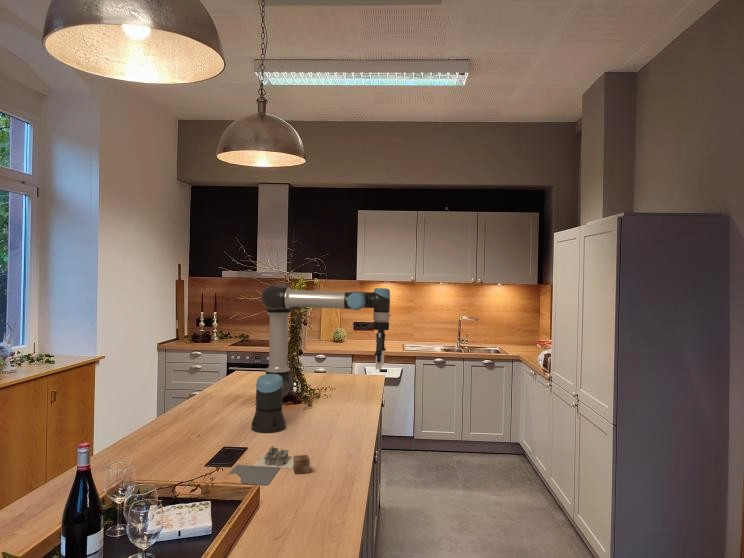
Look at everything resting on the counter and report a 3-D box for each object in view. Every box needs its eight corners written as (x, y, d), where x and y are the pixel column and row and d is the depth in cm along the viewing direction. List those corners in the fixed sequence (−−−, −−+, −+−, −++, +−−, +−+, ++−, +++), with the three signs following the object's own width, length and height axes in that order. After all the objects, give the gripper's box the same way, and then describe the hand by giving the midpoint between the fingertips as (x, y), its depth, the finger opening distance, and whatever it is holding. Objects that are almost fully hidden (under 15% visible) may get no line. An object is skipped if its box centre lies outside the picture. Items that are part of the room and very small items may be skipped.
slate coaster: (220, 482, 175) (220, 481, 175) (237, 465, 191) (237, 464, 191) (267, 485, 173) (267, 484, 173) (280, 467, 189) (280, 467, 189)
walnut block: (295, 474, 184) (295, 460, 184) (293, 469, 188) (293, 455, 188) (309, 473, 185) (309, 459, 185) (307, 468, 190) (307, 454, 190)
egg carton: (271, 455, 201) (272, 445, 201) (290, 457, 200) (291, 446, 200) (261, 465, 191) (262, 453, 191) (281, 466, 190) (282, 455, 190)
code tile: (253, 466, 190) (253, 465, 190) (263, 455, 202) (263, 454, 202) (291, 468, 189) (291, 468, 189) (299, 457, 201) (299, 456, 201)
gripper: (387, 323, 233) (385, 371, 233) (390, 319, 258) (389, 362, 258) (370, 323, 234) (369, 371, 234) (375, 318, 259) (374, 362, 259)
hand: (379, 366), depth 246 cm, fingers open, 13 cm apart
